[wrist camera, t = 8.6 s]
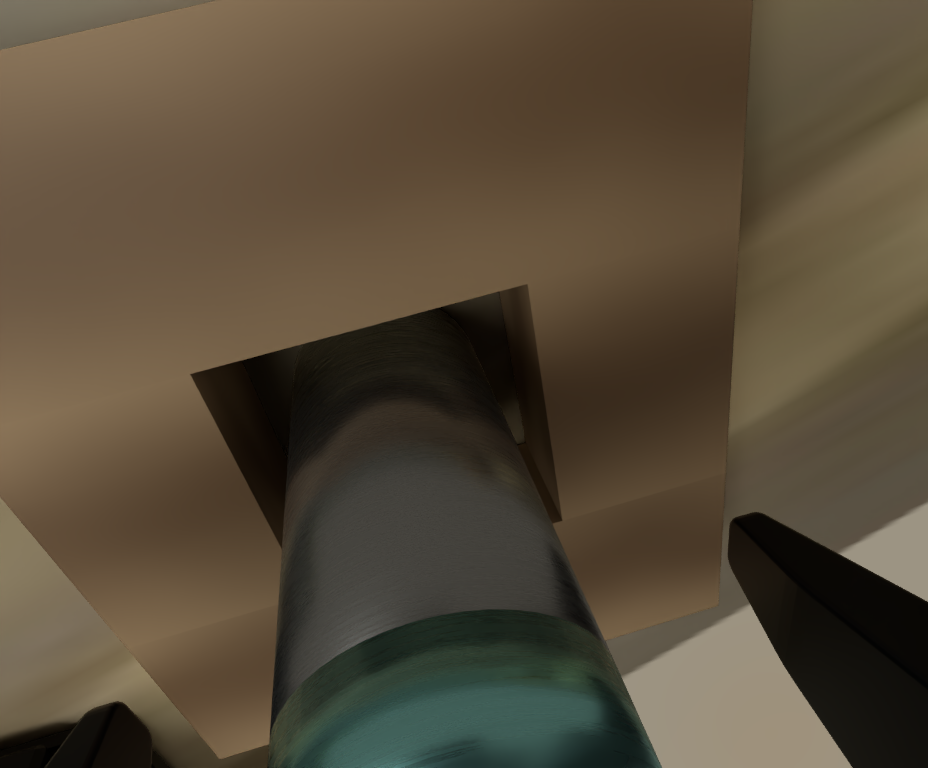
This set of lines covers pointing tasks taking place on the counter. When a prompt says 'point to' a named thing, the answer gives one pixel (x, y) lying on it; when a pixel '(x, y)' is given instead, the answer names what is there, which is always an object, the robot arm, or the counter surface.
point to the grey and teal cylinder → (428, 576)
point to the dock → (362, 287)
